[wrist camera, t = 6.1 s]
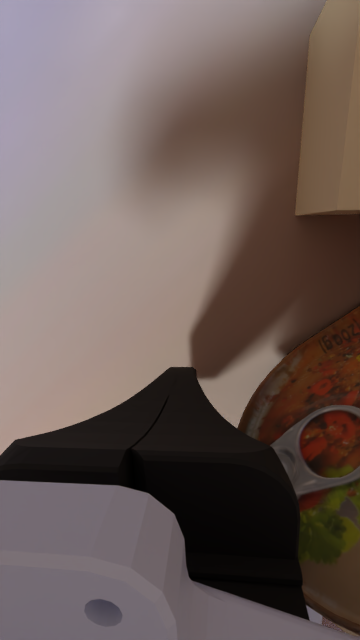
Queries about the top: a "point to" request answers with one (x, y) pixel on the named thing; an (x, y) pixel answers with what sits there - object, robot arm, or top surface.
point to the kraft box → (331, 115)
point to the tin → (320, 460)
